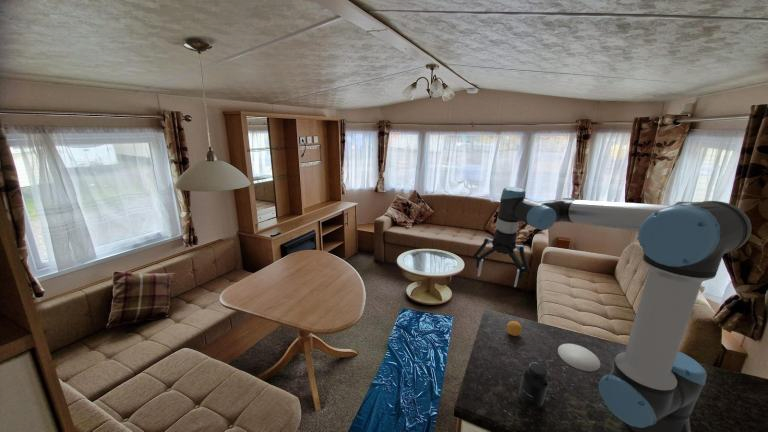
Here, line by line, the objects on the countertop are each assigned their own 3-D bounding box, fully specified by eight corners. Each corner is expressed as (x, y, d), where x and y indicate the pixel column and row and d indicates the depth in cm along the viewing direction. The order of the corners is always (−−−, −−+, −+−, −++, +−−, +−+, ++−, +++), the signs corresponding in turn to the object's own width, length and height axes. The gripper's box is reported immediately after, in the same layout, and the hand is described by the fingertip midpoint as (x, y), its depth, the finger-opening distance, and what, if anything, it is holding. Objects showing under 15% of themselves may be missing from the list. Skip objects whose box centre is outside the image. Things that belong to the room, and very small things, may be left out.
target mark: (601, 377, 102) (601, 377, 102) (556, 361, 109) (556, 360, 109) (599, 352, 113) (599, 352, 113) (559, 339, 119) (559, 339, 119)
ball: (519, 341, 118) (521, 328, 116) (504, 335, 121) (506, 323, 119) (521, 332, 122) (524, 321, 121) (507, 327, 125) (509, 316, 123)
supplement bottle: (519, 406, 92) (526, 374, 88) (517, 387, 98) (523, 356, 94) (545, 412, 90) (553, 380, 86) (541, 393, 96) (548, 362, 92)
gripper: (545, 233, 110) (532, 284, 118) (474, 219, 121) (467, 266, 129) (543, 241, 104) (530, 295, 112) (469, 225, 115) (462, 275, 123)
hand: (496, 280), depth 120 cm, fingers open, 13 cm apart
